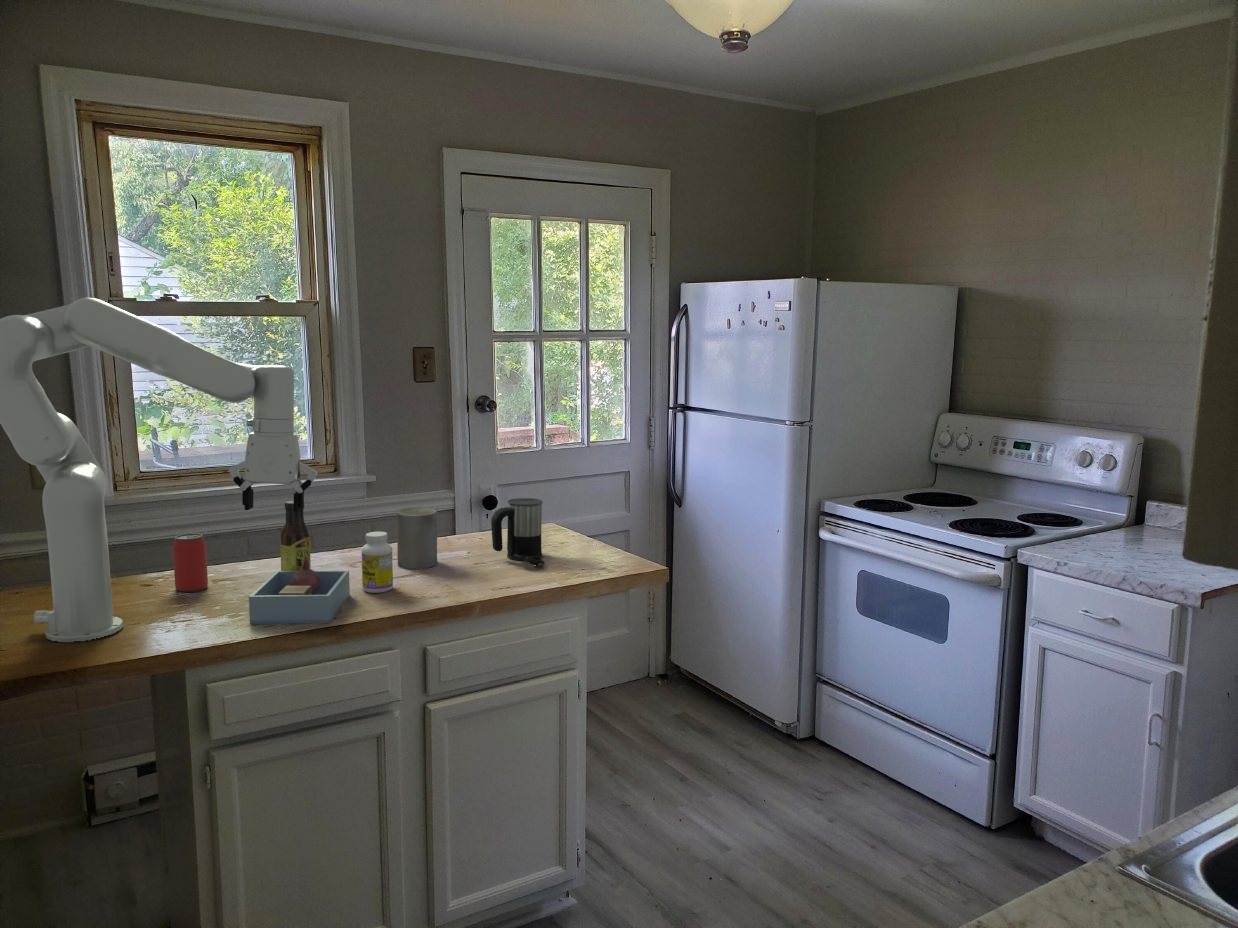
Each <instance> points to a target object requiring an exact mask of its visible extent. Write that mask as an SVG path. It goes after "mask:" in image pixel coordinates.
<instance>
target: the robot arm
mask: <svg viewBox="0 0 1238 928" xmlns="http://www.w3.org/2000/svg"><path fill="white" fill-rule="evenodd" d="M89 347H91V348H92V349H96V350H98V351H101V352H104V353H105V354H109V355H111V356H114V357H116V358H118V359H121V360H123V361H125V362H127V363H129V364H133V365H135V366H138V367H140V368H142V369H144V370H147V371H150V373H151V372H152V373H154V374H156V375H159V376H160V377H161V376H162V377H165V378H168V379H170V380H173V381H176V382H178V383H180V384H183V385H185V386H188V387H190V388H192V389H195V390H197V391H200V392H201V393H204V394H206V395H209V396H211V397H214V398H217V399H219V400H222V402H223V401H224V402H226V403H229V404H230V403H231V404H238V403H242V402H245V401H247V400H249V399H253V417H252V418H251V419H247V420H246V426H247V427H250V428H252V431H253V432H249V433H248V437H247V442H246V449H245V455H244V456H245V457H244V461H241V462H238V464H235V465H232V466H231V467H229V468H228V472H229V474H230V477H232V480H233V482H234V483H235V484H236V485H237V486H238V487H239V489H240V491H242V495H241V496H242V497H241V498H242V499H241V500H242V501H241V502H242V506H244V511H249V510H251V509H253V508H254V489H253V488H252V486H253V485H255V484H272V485H273V484H275V485H290V486H291V487H292V488H293V489H294V490H295V492H294V493H293V501H294V512H299V511H300V510H301V508H303V506H304V507H305V502H304V501H305V496H304V495H305V491H306V490H307V489H308V488H310V486H312V484H313V483H314V481H315V480H316V478H317V476H318V474H319V472H318V471H317V470H316V469H314V468H312V467H310V466H309V465H307V464H305V463H303V462H301V451H300V445H299V444H300V443H299V438H298V434H297V433H294V431H295V430H294V428H295V418H294V417H295V371H294V370H293V368H292V367H290V366H288V365H287V366H286V365H276V364H275V365H273V364H264V365H263V364H261V365H253V364H246V363H240V362H235V361H232V360H230V359H228V358H224V357H223V356H220V355H218V354H215V353H213V352H212V351H209V350H206V349H204V348H202V347H201V346H198V345H196V344H193V343H192V342H191V341H188V340H186V339H184V338H183V337H182V336H180V335H179V334H177V333H175V332H173V331H171V330H170V329H167V328H164V327H163V326H160V325H158V324H155V323H153V322H151V321H149V320H146V319H144V318H141V317H139V316H137V315H135V314H132V313H130V312H128V311H126V310H123V309H121V308H119V307H116V306H114V305H112V304H110V303H108V302H105V301H104V300H101V299H98V298H95V297H94V298H93V297H82V298H79V299H76V300H74V301H73V302H72V303H69V304H67V305H62V306H58V307H53V308H50V309H46V310H45V309H44V310H42V311H37V312H33V313H28V314H25V315H22V314H13V315H7V316H4V317H2V318H0V425H1V427H2V429H3V431H4V432H5V434H6V435H7V437H8V438H9V440H10V442H11V444H12V446H13V448H14V450H15V452H16V453H17V455H18V456H19V457H20V458H21V459H22V460H24V461H25V462H27V463H28V464H30V465H32V466H35V468H36V469H37V471H38V472H39V474H40V475H41V476H42V479H43V480H44V482H45V485H44V488H43V491H42V500H41V501H42V510H43V511H42V512H43V517H44V521H45V529H46V530H45V531H46V540H47V550H48V558H49V569H50V570H49V571H50V581H51V595H52V605H53V608H52V610H35V611H34V614H33V623H34V624H36V625H37V624H47V625H48V628H47V629H45V637H46V639H48V640H49V641H52V642H55V641H57V643H75V642H74V641H81V642H86V640H88V641H93V640H92V639H94V640H97V639H96V638H98V639H102V638H105V637H104V636H106V637H108V635H109V636H111V635H114V634H116V633H117V631H118V632H120V631H121V629H123V627H124V621H123V619H122V618H120V617H118V616H114V610H113V609H114V608H113V607H114V606H113V594H112V581H111V568H110V555H109V552H110V551H109V546H108V545H109V543H108V531H107V530H108V529H107V520H106V511H105V510H106V509H105V498H106V494H107V489H108V481H107V477H106V475H105V472H104V471H103V469H102V467H101V465H100V464H99V462H98V460H97V459H96V456H94V454H93V452H92V450H91V449H90V447H89V445H88V444H87V441H86V439H84V437H83V435H82V433H81V431H80V430H79V429H78V426H77V425H76V424H75V422H74V421H72V419H71V418H69V417H68V416H67V415H65V414H63V413H60V412H57V410H56V409H55V407H54V405H53V404H52V402H51V400H50V399H49V398H48V396H47V394H46V392H45V389H44V388H43V386H42V385H41V383H40V382H39V381H38V379H37V377H36V376H35V373H34V371H33V363H34V362H36V361H37V362H38V361H40V360H43V359H44V360H45V359H48V358H51V357H55V356H58V355H63V354H66V353H70V352H74V351H77V350H82V349H85V348H89ZM242 469H244V470H243V472H244V473H243V474H244V478H243V477H242V476H241V474H240V471H241V470H242ZM302 472H303V473H305V474H306V475H307V478H306V480H305V481H304V482H302V480H301V475H302ZM101 637H102V638H101Z"/></svg>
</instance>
